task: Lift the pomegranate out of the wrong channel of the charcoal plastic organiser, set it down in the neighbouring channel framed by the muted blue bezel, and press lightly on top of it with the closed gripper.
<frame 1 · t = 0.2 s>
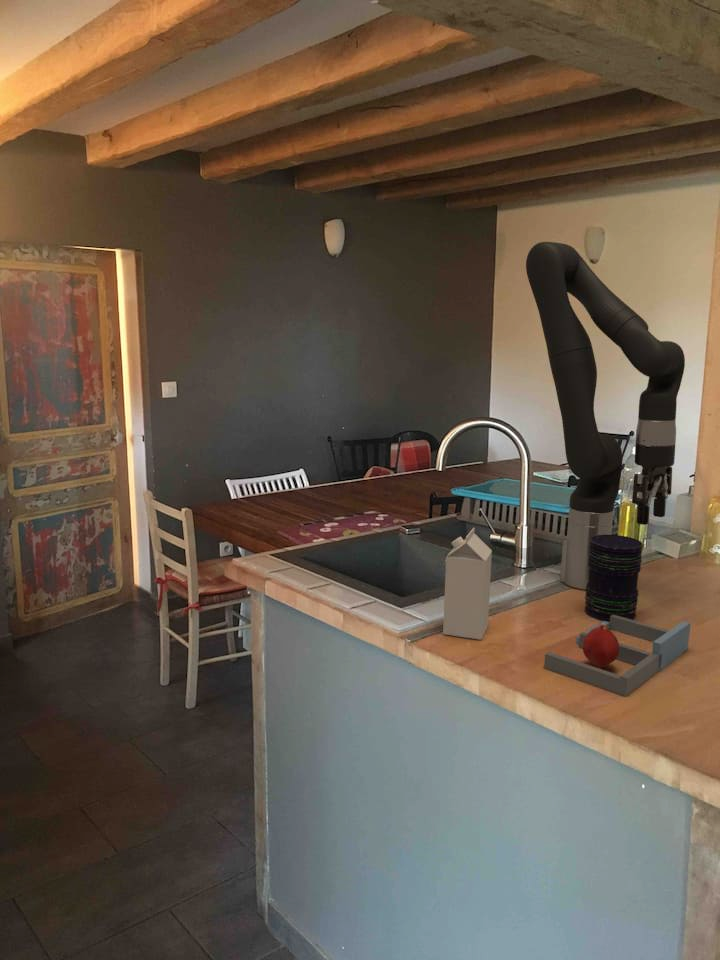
hand: (650, 520, 158), 17 cm above the countertop, tool pointing down, fingers open, 8 cm apart
milk carton: (465, 631, 143), on the countertop
channel organiser: (614, 657, 133), on the countertop
pomegranate: (598, 669, 129), on the countertop
storage jar: (609, 614, 153), on the countertop
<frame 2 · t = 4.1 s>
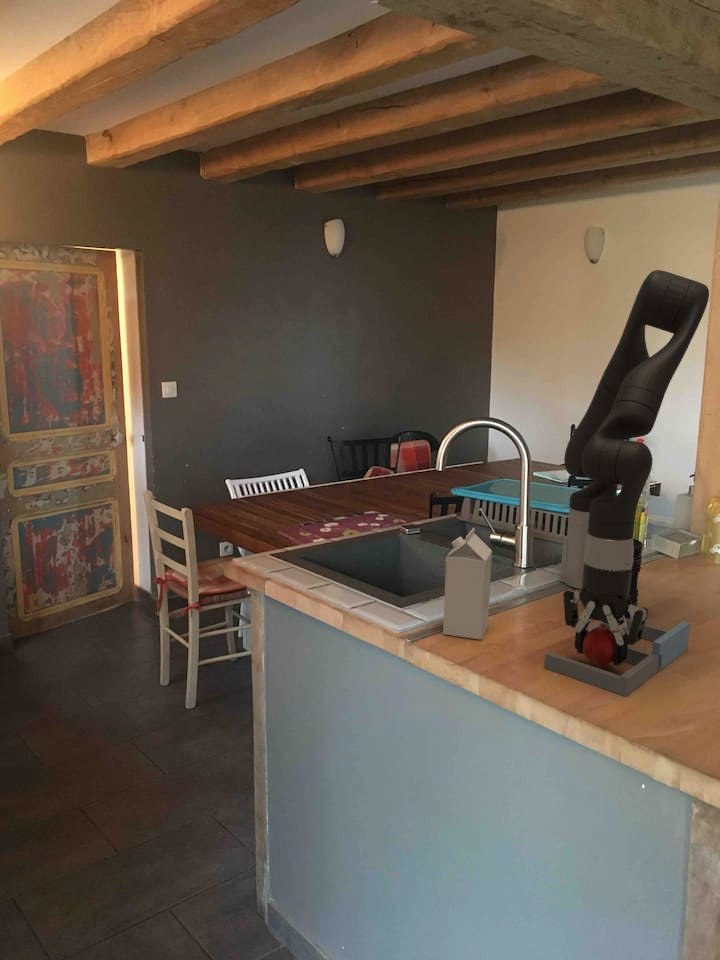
hand: (599, 657, 128), 2 cm above the countertop, tool pointing down, fingers closed on pomegranate, 6 cm apart
pomegranate: (598, 669, 129), on the countertop, touching gripper
everything else where it was.
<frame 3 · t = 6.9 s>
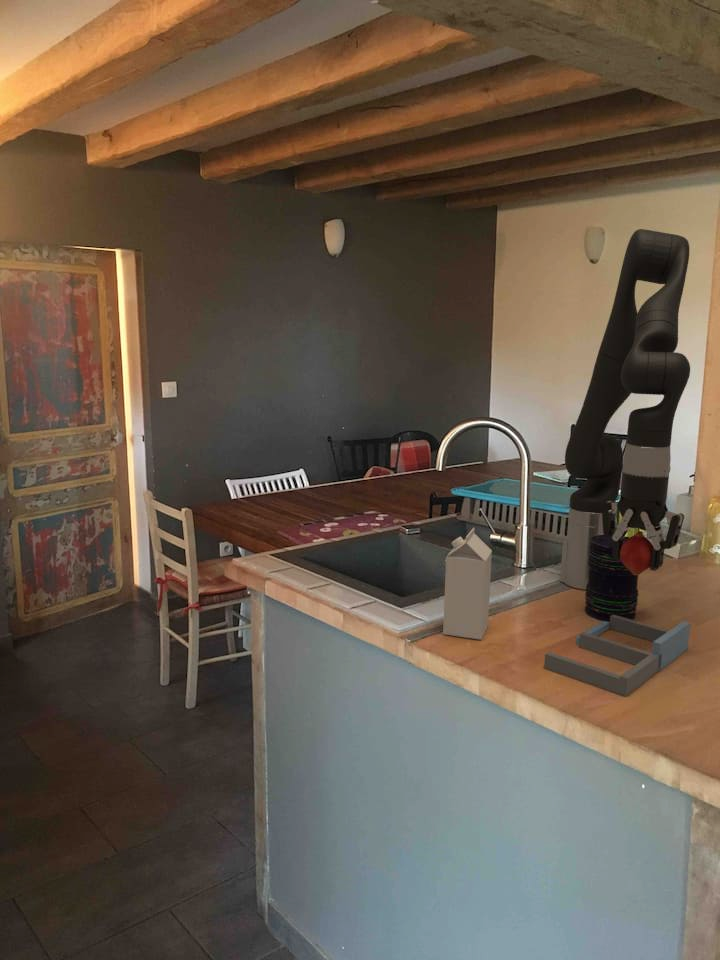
hand: (636, 564, 134), 15 cm above the countertop, tool pointing down, fingers closed on pomegranate, 6 cm apart
pomegranate: (635, 575, 135), point 13 cm above the countertop, touching gripper
everything else where it was.
when the fingers open (3 cm above the countertop, at t = 9.7 s): pomegranate drops 1 cm, on the countertop.
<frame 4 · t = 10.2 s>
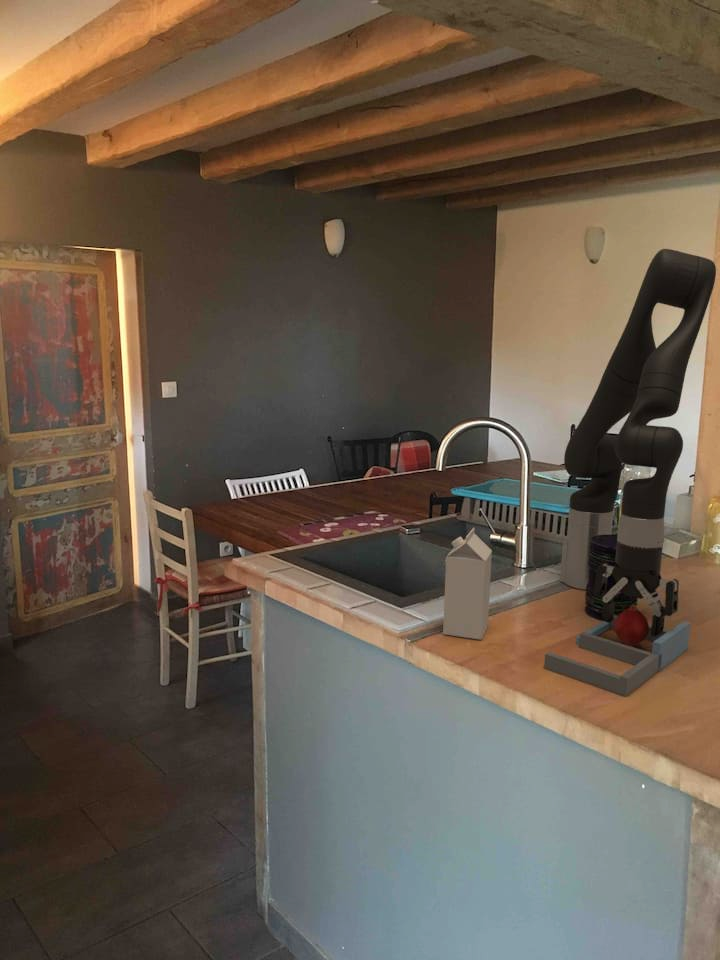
hand: (631, 628, 136), 4 cm above the countertop, tool pointing down, fingers open, 8 cm apart
pomegranate: (629, 647, 137), on the countertop
everything else where it was.
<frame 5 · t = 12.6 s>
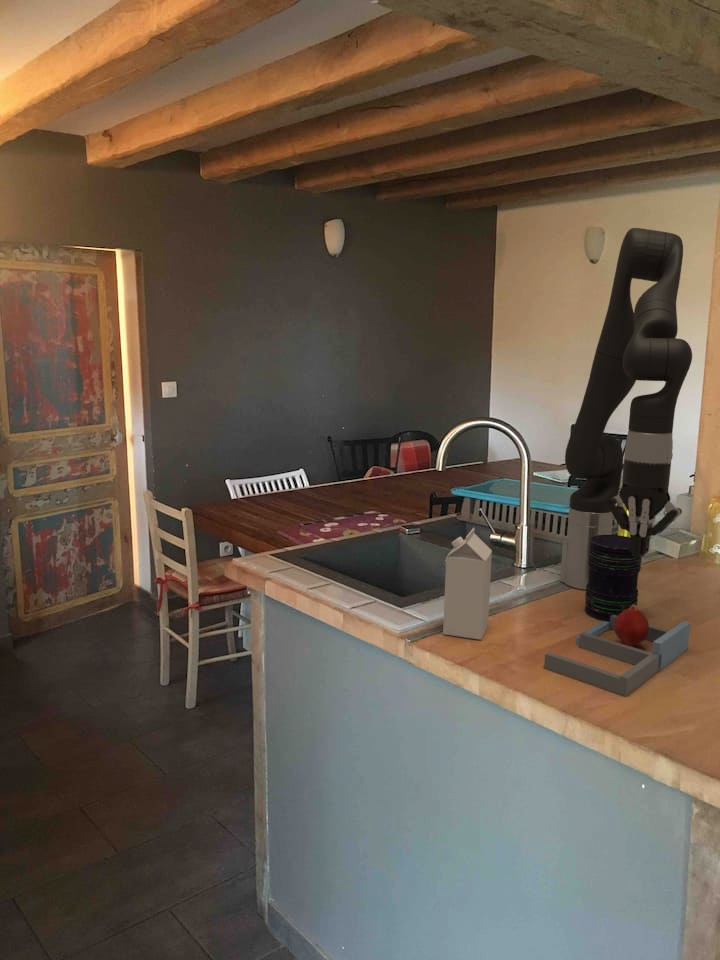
hand: (638, 555, 134), 17 cm above the countertop, tool pointing down, fingers closed
nothing on the countertop moved.
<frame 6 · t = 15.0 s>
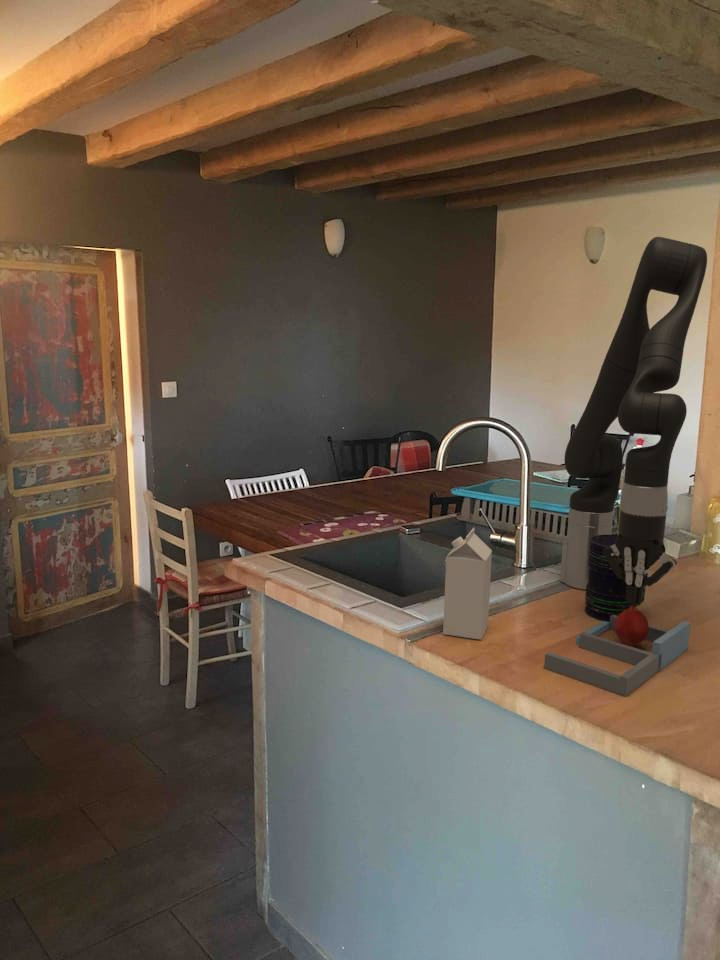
hand: (634, 604, 136), 8 cm above the countertop, tool pointing down, fingers closed
pomegranate: (629, 648, 137), on the countertop, touching gripper
everything else where it was.
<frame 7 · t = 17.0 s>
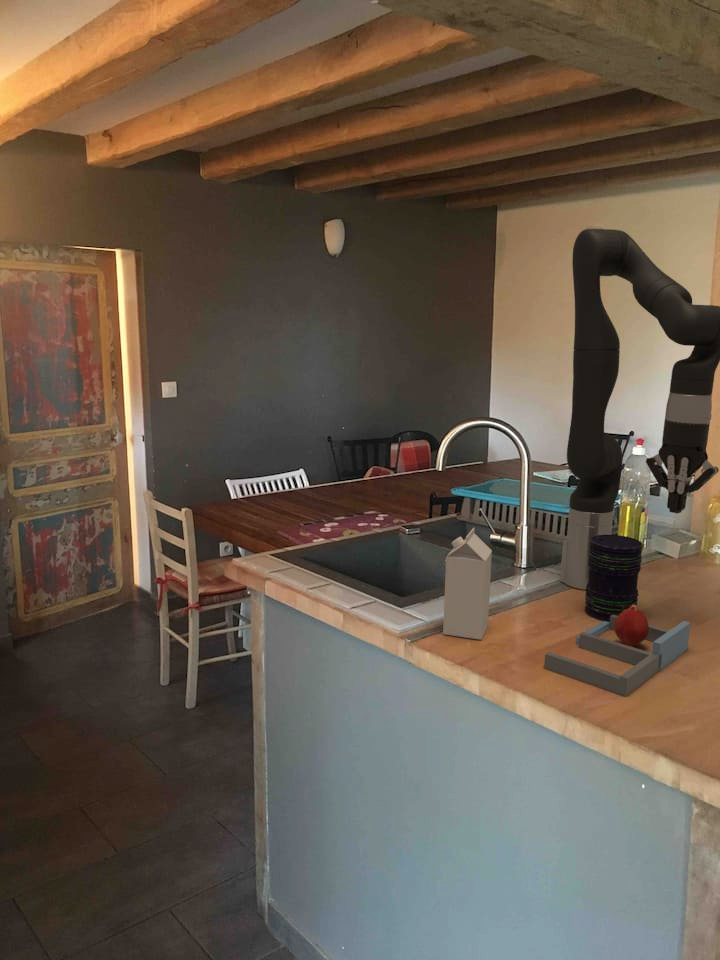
hand: (675, 512, 142), 23 cm above the countertop, tool pointing down, fingers closed
pomegranate: (629, 647, 137), on the countertop
everything else where it was.
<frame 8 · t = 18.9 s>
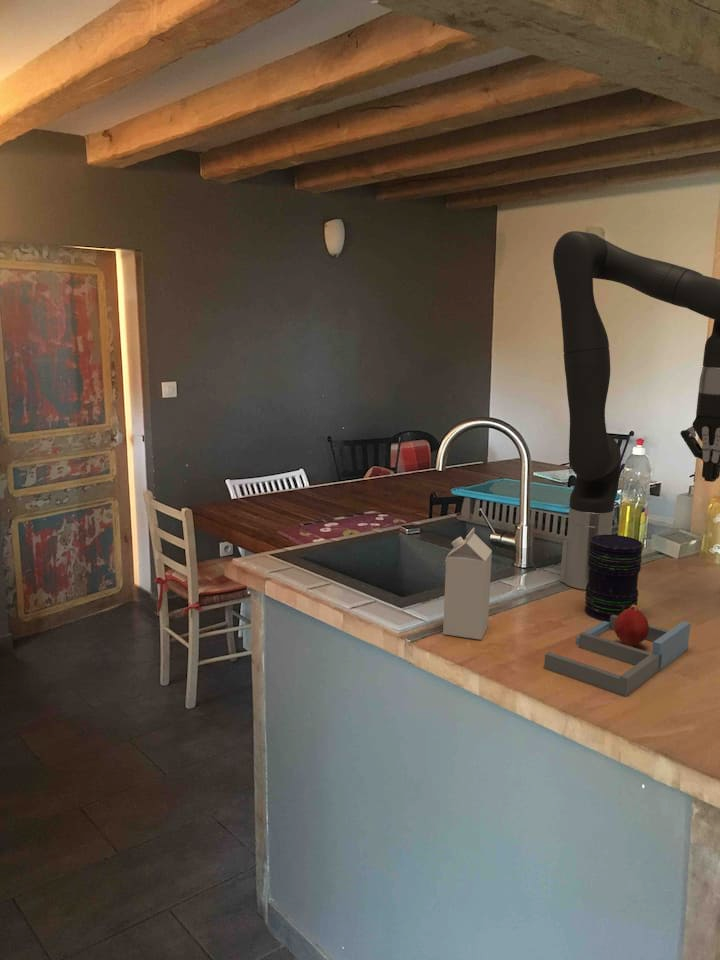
hand: (710, 480, 149), 27 cm above the countertop, tool pointing down, fingers closed
nothing on the countertop moved.
at the end: pomegranate inside the target area (0.1 cm from its centre), on the countertop; the gripper is holding nothing; pomegranate moved 12.1 cm from its start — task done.
